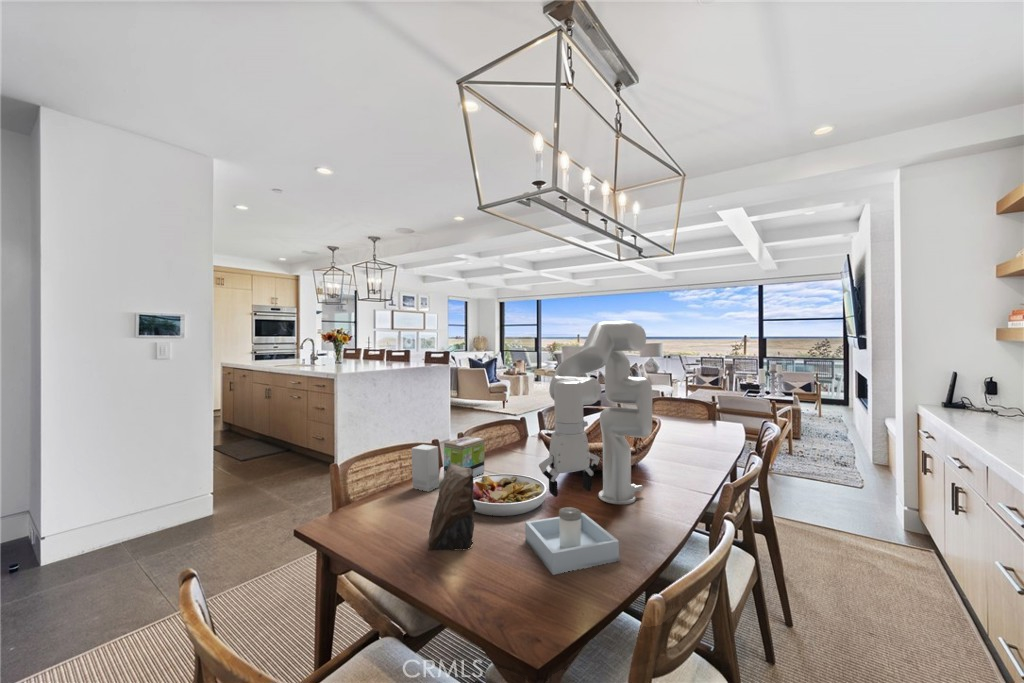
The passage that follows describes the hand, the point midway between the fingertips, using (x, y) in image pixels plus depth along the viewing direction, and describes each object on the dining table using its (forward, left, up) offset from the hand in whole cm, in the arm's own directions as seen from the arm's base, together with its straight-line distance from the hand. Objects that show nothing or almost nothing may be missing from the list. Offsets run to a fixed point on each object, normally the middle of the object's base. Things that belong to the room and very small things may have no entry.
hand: (570, 492), depth 108 cm
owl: (+30, -14, -15) cm, 36 cm away
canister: (0, 0, -14) cm, 14 cm away
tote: (+1, 0, -15) cm, 15 cm away
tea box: (+14, -68, -15) cm, 71 cm away
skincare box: (+31, -59, -15) cm, 69 cm away
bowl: (+7, -38, -16) cm, 41 cm away
